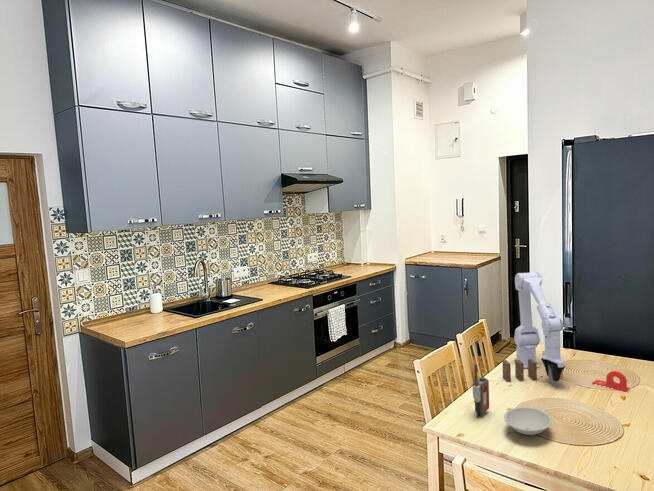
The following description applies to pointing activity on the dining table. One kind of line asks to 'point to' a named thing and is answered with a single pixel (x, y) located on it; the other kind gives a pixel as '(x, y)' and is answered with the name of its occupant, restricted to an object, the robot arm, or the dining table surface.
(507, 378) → the brown wooden block
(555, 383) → the gap domino
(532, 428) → the dish
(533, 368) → the domino
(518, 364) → the domino
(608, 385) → the bracket
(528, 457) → the dining table surface
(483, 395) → the walkie-talkie
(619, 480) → the dining table surface
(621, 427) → the dining table surface
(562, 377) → the domino
